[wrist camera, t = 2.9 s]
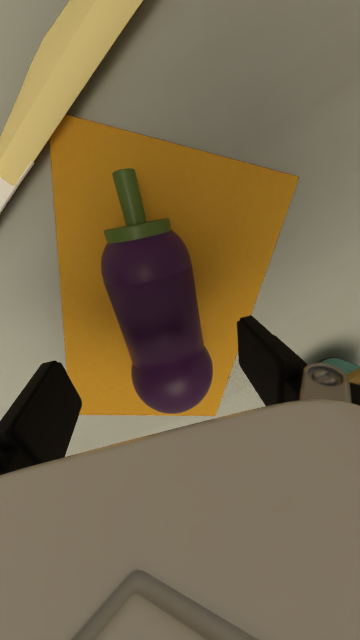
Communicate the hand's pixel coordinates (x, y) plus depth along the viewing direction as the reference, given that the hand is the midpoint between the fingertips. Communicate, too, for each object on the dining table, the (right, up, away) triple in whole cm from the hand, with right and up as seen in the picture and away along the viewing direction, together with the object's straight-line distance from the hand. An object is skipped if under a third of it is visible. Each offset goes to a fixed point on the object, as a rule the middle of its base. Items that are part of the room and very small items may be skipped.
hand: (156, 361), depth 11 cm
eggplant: (-1, +4, +6) cm, 7 cm away
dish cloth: (0, +2, +7) cm, 8 cm away
